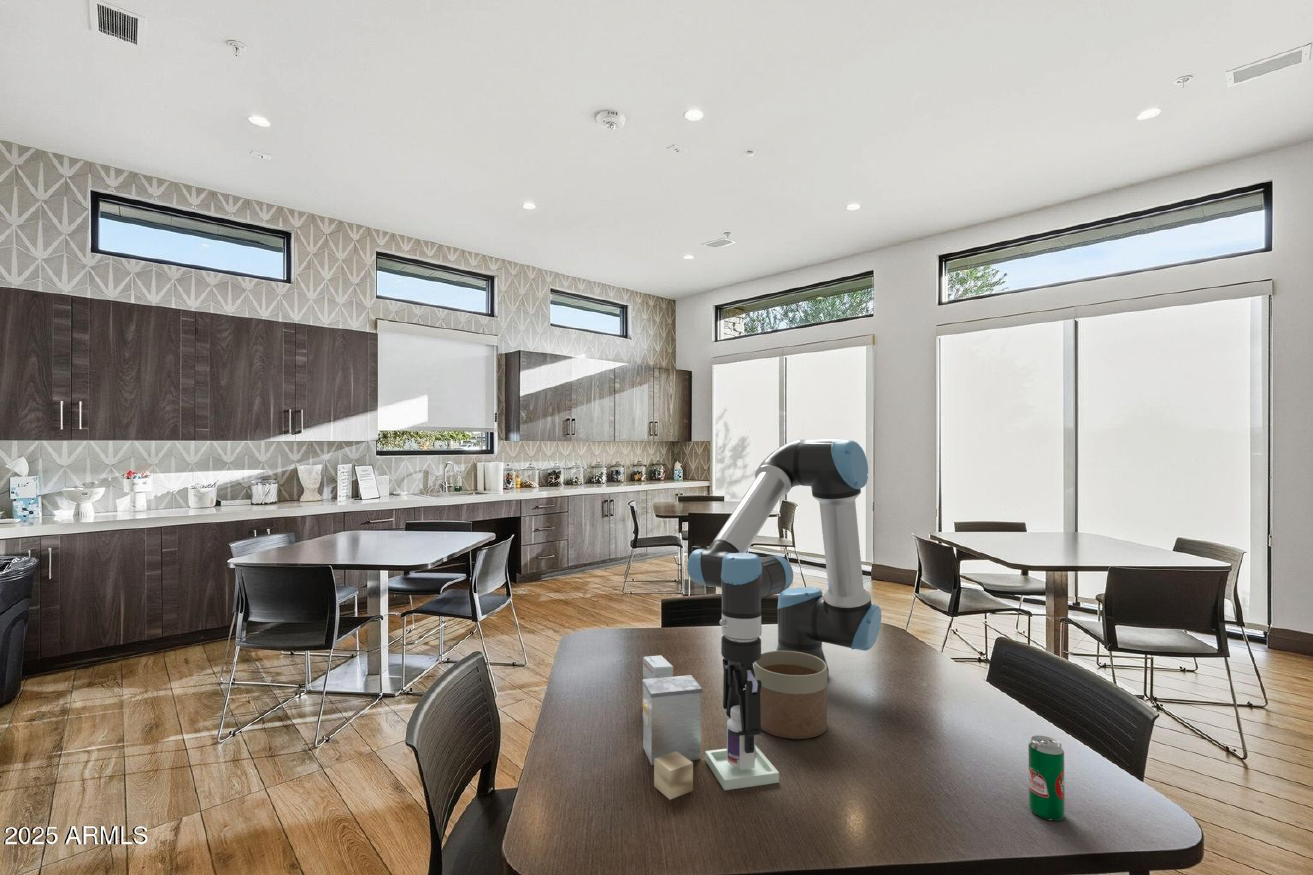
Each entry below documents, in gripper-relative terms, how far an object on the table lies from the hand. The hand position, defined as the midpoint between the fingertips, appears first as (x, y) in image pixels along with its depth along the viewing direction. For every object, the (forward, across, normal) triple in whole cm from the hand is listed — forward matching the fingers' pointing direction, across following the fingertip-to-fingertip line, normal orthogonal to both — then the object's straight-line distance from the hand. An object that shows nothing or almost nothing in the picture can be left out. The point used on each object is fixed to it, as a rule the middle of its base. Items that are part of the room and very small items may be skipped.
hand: (740, 759), depth 113 cm
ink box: (+2, -28, -9) cm, 30 cm away
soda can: (+2, +24, +45) cm, 51 cm away
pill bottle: (+1, 0, 0) cm, 1 cm away
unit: (+2, -10, -11) cm, 15 cm away
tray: (+2, 0, 0) cm, 2 cm away
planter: (+2, -16, +18) cm, 24 cm away
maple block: (+2, +2, -14) cm, 14 cm away
